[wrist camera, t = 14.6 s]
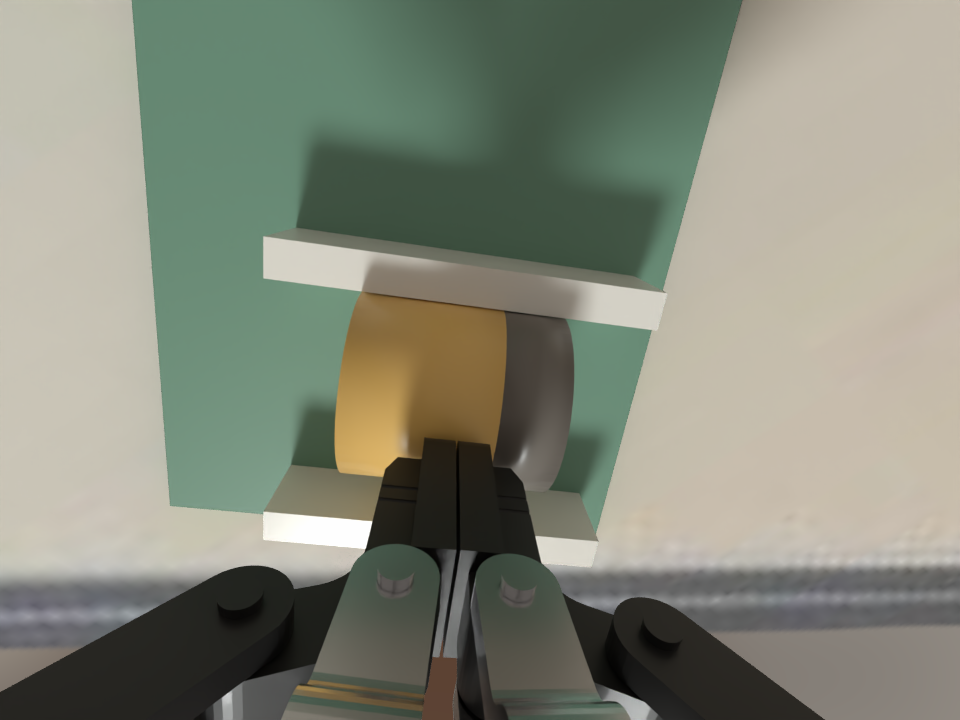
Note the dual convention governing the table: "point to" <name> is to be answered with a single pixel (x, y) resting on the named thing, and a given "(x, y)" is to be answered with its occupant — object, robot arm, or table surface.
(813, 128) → the table surface
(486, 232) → the green board
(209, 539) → the table surface
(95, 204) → the table surface
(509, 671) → the robot arm
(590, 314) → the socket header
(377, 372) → the amber plug
